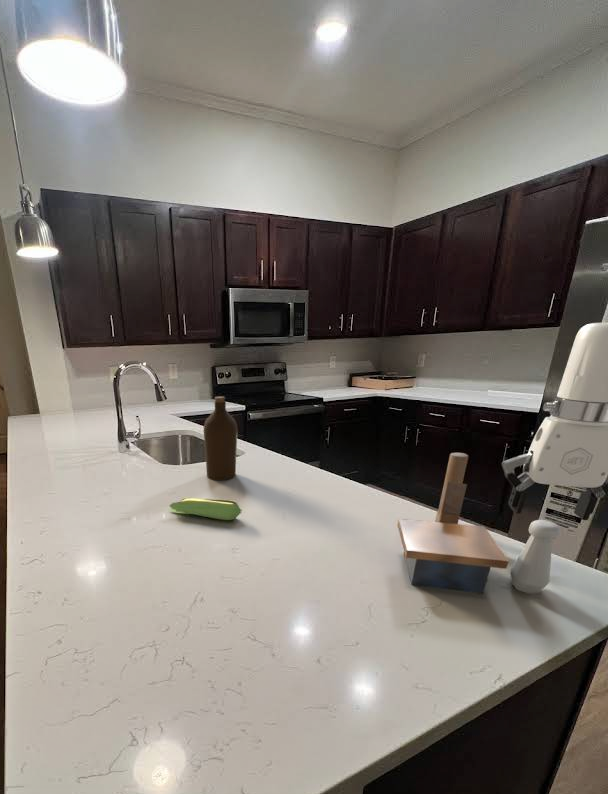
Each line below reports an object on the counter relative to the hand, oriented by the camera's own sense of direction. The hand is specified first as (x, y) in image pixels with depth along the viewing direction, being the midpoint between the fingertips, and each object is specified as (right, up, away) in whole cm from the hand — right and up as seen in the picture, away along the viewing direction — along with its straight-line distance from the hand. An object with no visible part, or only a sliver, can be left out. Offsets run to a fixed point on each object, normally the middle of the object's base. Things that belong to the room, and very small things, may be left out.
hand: (547, 513), depth 71 cm
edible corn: (-60, -1, +37) cm, 70 cm away
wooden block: (-4, -5, +26) cm, 27 cm away
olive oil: (-55, +12, +66) cm, 87 cm away
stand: (-12, -11, +11) cm, 20 cm away
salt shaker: (+1, -14, +6) cm, 15 cm away
